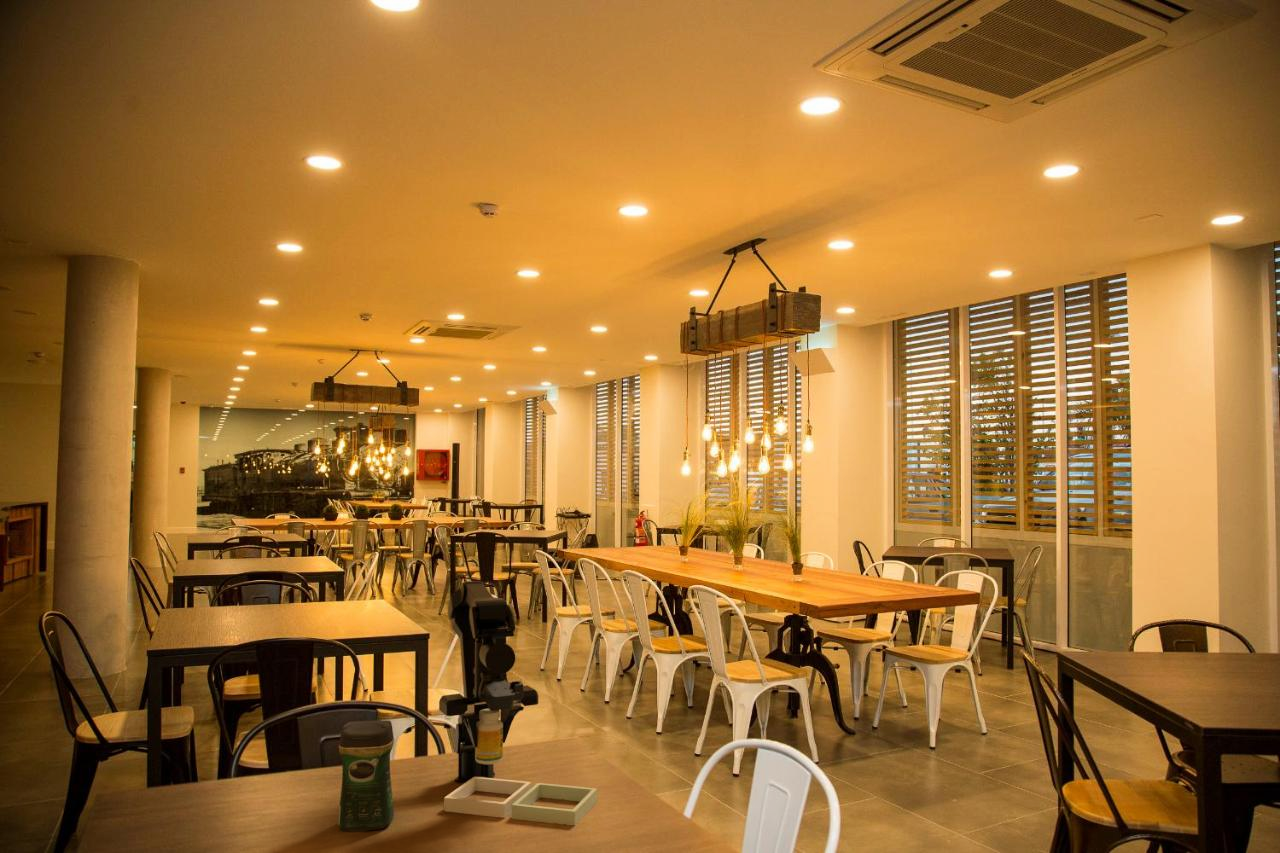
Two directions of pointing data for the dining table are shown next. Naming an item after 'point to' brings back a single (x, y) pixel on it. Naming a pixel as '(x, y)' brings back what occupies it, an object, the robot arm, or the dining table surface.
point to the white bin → (482, 807)
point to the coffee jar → (366, 775)
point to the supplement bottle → (489, 737)
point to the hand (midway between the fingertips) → (489, 744)
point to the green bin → (554, 815)
